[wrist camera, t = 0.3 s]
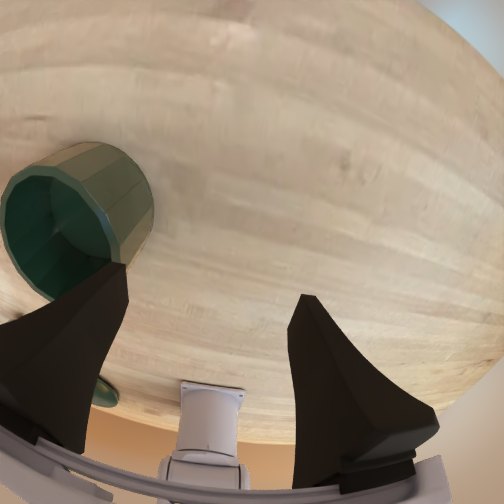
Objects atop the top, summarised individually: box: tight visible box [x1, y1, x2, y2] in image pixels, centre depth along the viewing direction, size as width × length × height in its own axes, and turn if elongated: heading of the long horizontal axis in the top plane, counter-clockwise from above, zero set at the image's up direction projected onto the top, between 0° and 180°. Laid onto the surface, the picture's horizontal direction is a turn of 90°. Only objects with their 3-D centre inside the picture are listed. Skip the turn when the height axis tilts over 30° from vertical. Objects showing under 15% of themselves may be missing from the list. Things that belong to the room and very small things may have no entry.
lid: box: [91, 378, 118, 408], centre depth 31 cm, size 11×11×5 cm
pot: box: [0, 142, 154, 302], centre depth 16 cm, size 10×10×6 cm
